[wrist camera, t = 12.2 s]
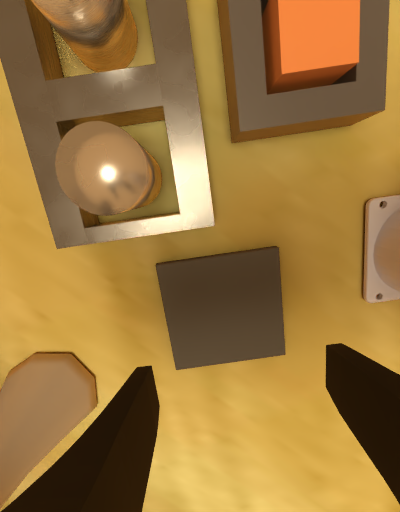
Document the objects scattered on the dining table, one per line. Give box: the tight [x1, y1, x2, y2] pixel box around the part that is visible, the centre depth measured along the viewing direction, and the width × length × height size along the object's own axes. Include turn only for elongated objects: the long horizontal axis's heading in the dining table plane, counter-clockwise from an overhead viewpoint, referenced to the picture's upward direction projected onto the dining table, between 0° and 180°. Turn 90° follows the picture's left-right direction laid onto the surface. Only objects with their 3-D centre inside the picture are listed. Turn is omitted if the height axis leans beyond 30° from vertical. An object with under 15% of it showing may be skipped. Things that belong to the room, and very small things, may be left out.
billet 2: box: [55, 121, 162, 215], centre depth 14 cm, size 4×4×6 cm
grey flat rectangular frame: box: [0, 0, 215, 249], centre depth 14 cm, size 10×16×2 cm, turn 8°
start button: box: [262, 0, 360, 95], centre depth 13 cm, size 4×4×3 cm
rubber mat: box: [156, 246, 285, 370], centre depth 19 cm, size 9×9×1 cm
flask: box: [0, 353, 97, 508], centre depth 16 cm, size 7×7×10 cm
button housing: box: [217, 0, 389, 143], centre depth 14 cm, size 8×8×3 cm
